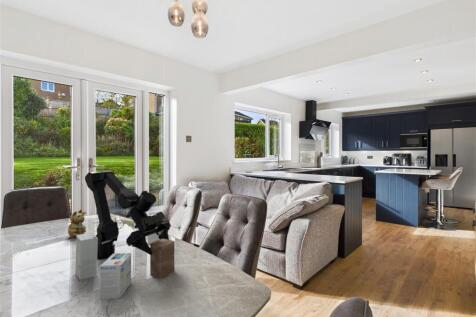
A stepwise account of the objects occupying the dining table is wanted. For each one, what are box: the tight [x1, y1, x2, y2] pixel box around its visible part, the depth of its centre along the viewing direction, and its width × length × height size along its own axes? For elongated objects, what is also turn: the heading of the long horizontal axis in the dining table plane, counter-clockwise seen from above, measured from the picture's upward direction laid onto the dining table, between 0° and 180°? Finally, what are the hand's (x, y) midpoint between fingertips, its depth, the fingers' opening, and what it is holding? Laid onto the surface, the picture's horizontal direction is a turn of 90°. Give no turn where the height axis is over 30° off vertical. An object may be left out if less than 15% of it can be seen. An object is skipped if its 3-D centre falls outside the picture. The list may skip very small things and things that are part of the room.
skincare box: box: [74, 232, 98, 281], centre depth 98 cm, size 8×6×15 cm
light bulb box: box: [99, 252, 132, 300], centre depth 86 cm, size 11×7×11 cm, turn 5°
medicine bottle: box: [147, 220, 164, 245], centre depth 136 cm, size 7×7×12 cm
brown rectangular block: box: [149, 239, 176, 279], centre depth 99 cm, size 6×6×12 cm
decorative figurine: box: [67, 209, 87, 238], centre depth 147 cm, size 10×8×15 cm
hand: (160, 250), depth 100 cm, fingers open, 9 cm apart
